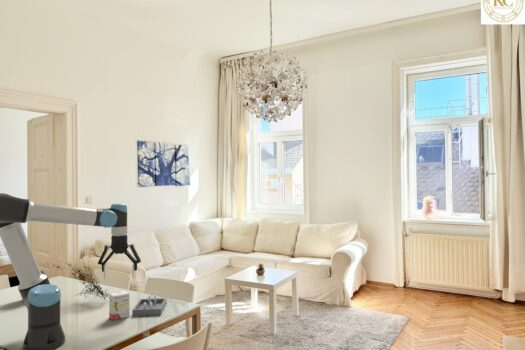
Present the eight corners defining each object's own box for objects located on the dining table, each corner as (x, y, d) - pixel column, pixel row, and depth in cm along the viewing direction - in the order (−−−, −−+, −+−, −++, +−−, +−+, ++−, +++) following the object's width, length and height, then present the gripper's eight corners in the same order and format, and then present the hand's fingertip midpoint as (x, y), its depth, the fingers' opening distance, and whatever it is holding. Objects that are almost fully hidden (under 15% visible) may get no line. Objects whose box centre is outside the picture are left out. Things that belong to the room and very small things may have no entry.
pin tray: (161, 314, 194) (161, 303, 194) (132, 316, 192) (132, 304, 192) (166, 303, 211) (166, 293, 212) (140, 304, 210) (140, 294, 210)
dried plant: (132, 270, 215) (91, 231, 239) (77, 287, 191) (38, 242, 215) (123, 314, 224) (85, 272, 249) (70, 335, 200) (33, 287, 224)
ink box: (112, 320, 186) (112, 296, 186) (109, 317, 190) (108, 293, 190) (129, 316, 191) (129, 292, 192) (126, 314, 195) (126, 290, 195)
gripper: (146, 233, 196) (147, 274, 196) (95, 234, 194) (96, 276, 194) (143, 235, 189) (143, 278, 189) (90, 236, 186) (91, 280, 186)
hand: (119, 277), depth 191 cm, fingers open, 13 cm apart
